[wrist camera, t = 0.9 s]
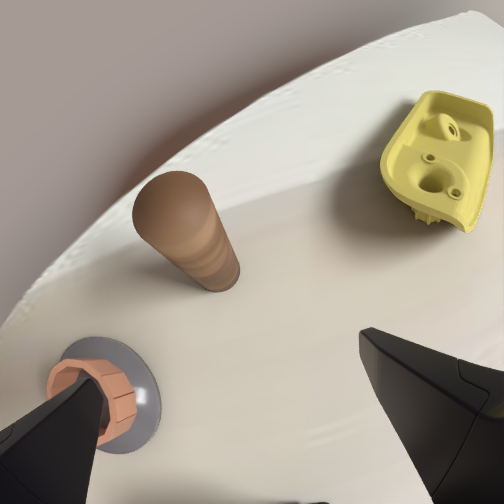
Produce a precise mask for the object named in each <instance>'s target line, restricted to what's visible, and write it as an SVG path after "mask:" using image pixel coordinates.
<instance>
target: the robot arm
mask: <svg viewBox="0 0 504 504" xmlns="http://www.w3.org/2000/svg"><path fill="white" fill-rule="evenodd" d="M359 353H360V358H361V360H362V363H363V365H364V367H365V370H366V372H367V375H368V377H369V380H370V382H371V384H372V387H373V389H374V392H375V394H376V396H377V398H378V400H379V402H380V404H381V405H382V407H383V409H384V411H385V413H386V414H387V416H388V418H389V420H390V421H391V423H392V425H393V427H394V429H395V431H396V432H397V434H398V436H399V438H400V440H401V442H402V443H403V445H404V447H405V449H406V451H407V453H408V454H409V456H410V458H411V460H412V462H413V464H414V466H415V468H416V470H417V471H418V473H419V475H420V477H421V479H422V481H423V483H424V485H425V487H426V489H427V491H428V493H429V495H430V497H432V498H431V499H432V501H433V503H434V504H504V371H500V370H496V369H492V368H488V367H484V366H480V365H477V364H474V363H470V362H467V361H464V360H462V359H458V360H457V358H456V357H453V356H450V355H447V354H444V353H441V352H438V351H436V350H433V349H430V348H427V347H424V346H422V345H419V344H416V343H413V342H410V341H408V340H405V339H402V338H400V337H397V336H394V335H391V334H389V333H386V332H383V331H381V330H378V329H375V328H372V327H370V328H367V329H364V330H361V331H360V332H359ZM103 403H104V398H103V395H102V393H101V391H100V390H99V388H98V386H97V385H96V383H95V381H94V380H93V379H92V378H81V379H79V380H78V381H76V382H75V383H73V384H72V385H70V386H69V387H67V388H66V389H64V390H63V391H61V392H60V393H58V394H57V395H55V396H54V397H52V398H51V399H49V400H48V401H46V402H45V403H43V404H42V405H40V406H39V407H37V408H36V409H34V410H33V411H31V412H30V413H28V414H27V415H25V416H24V417H22V418H20V419H19V420H17V421H16V422H15V423H13V424H11V425H10V426H8V427H7V428H5V429H3V430H2V431H0V504H86V498H87V492H88V486H89V480H90V475H91V470H92V465H93V460H94V455H95V451H96V446H97V442H98V437H99V431H100V424H101V416H102V410H103ZM319 504H329V503H319Z"/></svg>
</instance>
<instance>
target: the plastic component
mask: <svg viewBox="0 0 504 504" xmlns="http://www.w3.org/2000/svg"><path fill="white" fill-rule="evenodd" d="M493 152H494V119H493V112H492V110H491V108H490V107H489V106H487V105H486V104H483V103H480V102H477V101H474V100H471V99H468V98H464V97H461V96H458V95H454V94H451V93H447V92H443V91H428V92H425V93H423V94H422V96H421V97H420V99H419V100H418V101H417V103H416V104H415V106H414V107H413V109H412V110H411V111H410V113H409V114H408V116H407V117H406V118H405V120H404V121H403V123H402V124H401V125H400V127H399V128H398V130H397V131H396V132H395V134H394V135H393V137H392V138H391V140H390V141H389V143H388V144H387V146H386V148H385V149H384V152H383V154H382V156H381V160H380V169H381V174H382V177H383V180H384V182H385V184H386V185H387V187H388V188H389V190H390V191H391V192H392V193H393V194H394V195H395V196H396V197H397V198H398V199H399V200H401V201H402V202H404V203H405V204H407V205H409V206H410V207H411V211H414V213H415V219H416V220H417V219H420V220H422V221H425V222H426V224H427V225H430V222H434V221H437V222H440V221H441V219H443V220H445V221H447V222H450V223H452V224H453V225H455V226H456V227H457V228H458V229H459V230H461V231H463V232H465V233H470V232H471V231H472V229H473V228H474V226H475V224H476V222H477V220H478V217H479V214H480V212H481V209H482V205H483V202H484V198H485V194H486V190H487V186H488V182H489V178H490V174H491V169H492V163H493ZM452 194H456V195H457V196H459V197H456V196H453V195H452Z"/></svg>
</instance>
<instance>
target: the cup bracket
mask: <svg viewBox="0 0 504 504" xmlns="http://www.w3.org/2000/svg"><path fill="white" fill-rule="evenodd" d="M81 378H92V379H93V380H94V381H95V383H96V385H97V386H98V388H99V390H100V391H101V393H102V395H103V398H104V403H103V410H102V416H101V424H100V431H99V437H98V442H97V446H96V449H99V450H101V451H104V452H107V453H112V454H125V453H130V452H133V451H135V450H137V449H139V448H140V447H142V446H143V445H144V444H146V443H147V442H148V441H149V440H150V439H151V438H152V437H153V435H154V434H155V432H156V430H157V428H158V425H159V422H160V418H161V398H160V393H159V389H158V386H157V383H156V381H155V378H154V376H153V374H152V372H151V371H150V369H149V368H148V366H147V364H146V363H145V362H144V361H143V359H142V358H141V357H140V356H139V355H138V354H137V353H136V352H135V351H133V350H132V349H131V348H130V347H128V346H127V345H125V344H123V343H121V342H119V341H117V340H114V339H110V338H104V337H89V338H84V339H81V340H79V341H77V342H75V343H74V344H72V345H71V346H70V347H69V348H68V349H67V350H66V352H65V353H64V355H63V356H62V358H61V360H60V362H59V363H58V364H57V365H55V366H54V367H53V369H51V372H50V375H49V378H48V381H47V384H46V391H47V400H49V399H51V398H52V397H54V396H55V395H57V394H58V393H60V392H61V391H63V390H64V389H66V388H67V387H69V386H70V385H72V384H73V383H75V382H76V381H78V380H79V379H81Z"/></svg>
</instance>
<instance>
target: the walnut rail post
mask: <svg viewBox="0 0 504 504" xmlns="http://www.w3.org/2000/svg"><path fill="white" fill-rule="evenodd" d="M132 218H133V224H134V227H135V229H136V231H137V233H138V234H139V235H140V237H141V238H142V239H144V240H145V241H146V242H147V243H148V244H150V245H151V246H152V247H153V248H155V249H156V250H157V251H158V252H160V253H161V254H162V255H163V256H165V257H166V258H167V259H168V260H170V261H171V262H172V263H173V264H175V265H176V266H177V267H179V268H180V269H181V270H182V271H184V272H185V273H186V274H188V275H189V276H190V277H191V278H193V279H194V280H195V281H197V282H198V283H199V284H201V285H202V286H203V287H205V288H206V289H208V290H210V291H213V292H223V291H226V290H228V289H230V288H231V287H232V286H233V285H234V284H235V283H236V282H237V280H238V278H239V275H240V266H239V262H238V260H237V258H236V255H235V253H234V251H233V248H232V246H231V244H230V241H229V239H228V237H227V234H226V232H225V230H224V227H223V225H222V223H221V220H220V218H219V215H218V213H217V211H216V208H215V206H214V204H213V201H212V199H211V197H210V194H209V192H208V189H207V187H206V186H205V184H204V183H203V182H202V180H200V179H199V178H198V177H197V176H195V175H193V174H191V173H188V172H184V171H171V172H166V173H163V174H161V175H159V176H157V177H155V178H153V179H152V180H151V181H149V182H148V183H147V184H146V185H145V186H144V187H143V188H142V189H141V191H140V192H139V194H138V196H137V197H136V200H135V202H134V206H133V211H132Z"/></svg>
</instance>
